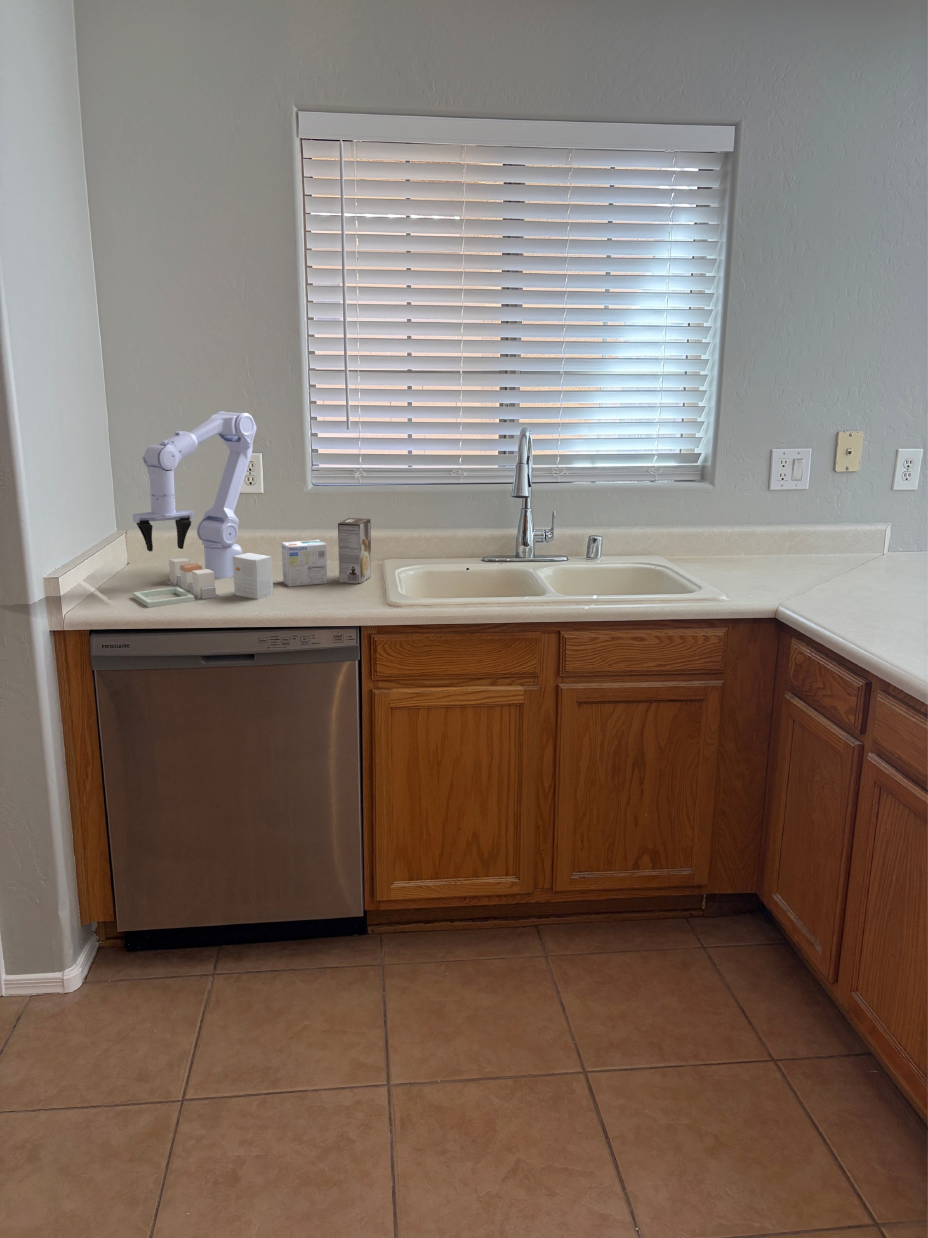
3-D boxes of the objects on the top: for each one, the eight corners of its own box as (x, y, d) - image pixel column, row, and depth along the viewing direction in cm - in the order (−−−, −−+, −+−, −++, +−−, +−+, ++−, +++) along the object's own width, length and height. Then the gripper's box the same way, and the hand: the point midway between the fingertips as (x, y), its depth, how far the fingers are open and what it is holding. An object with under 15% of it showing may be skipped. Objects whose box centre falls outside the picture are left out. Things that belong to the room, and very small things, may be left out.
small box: (274, 598, 227) (272, 556, 225) (257, 602, 223) (256, 560, 220) (250, 593, 232) (249, 552, 229) (234, 597, 227) (232, 555, 224)
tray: (178, 594, 228) (177, 586, 228) (194, 604, 220) (194, 596, 219) (133, 600, 222) (132, 592, 222) (148, 610, 214) (148, 602, 213)
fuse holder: (187, 581, 242) (186, 569, 241) (221, 599, 225) (220, 586, 224) (165, 584, 238) (164, 571, 238) (197, 603, 221) (197, 589, 220)
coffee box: (349, 575, 253) (348, 517, 249) (371, 576, 252) (371, 518, 248) (338, 582, 245) (337, 522, 240) (361, 584, 243) (360, 523, 239)
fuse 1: (185, 579, 240) (184, 557, 239) (191, 582, 237) (189, 560, 235) (170, 581, 238) (168, 558, 236) (175, 584, 235) (174, 561, 233)
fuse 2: (209, 592, 228) (207, 568, 226) (215, 595, 225) (214, 571, 223) (193, 594, 226) (192, 570, 224) (199, 598, 222) (198, 573, 221)
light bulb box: (320, 578, 249) (319, 538, 246) (328, 583, 243) (327, 543, 240) (281, 581, 245) (280, 541, 242) (288, 587, 239) (287, 546, 236)
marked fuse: (197, 586, 234) (195, 562, 232) (203, 589, 231) (201, 565, 229) (181, 588, 232) (179, 564, 230) (187, 591, 229) (185, 567, 227)
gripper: (137, 498, 219) (141, 554, 222) (197, 495, 227) (199, 549, 231) (128, 494, 224) (132, 549, 228) (187, 492, 233) (189, 545, 236)
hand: (165, 549), depth 230 cm, fingers open, 7 cm apart
